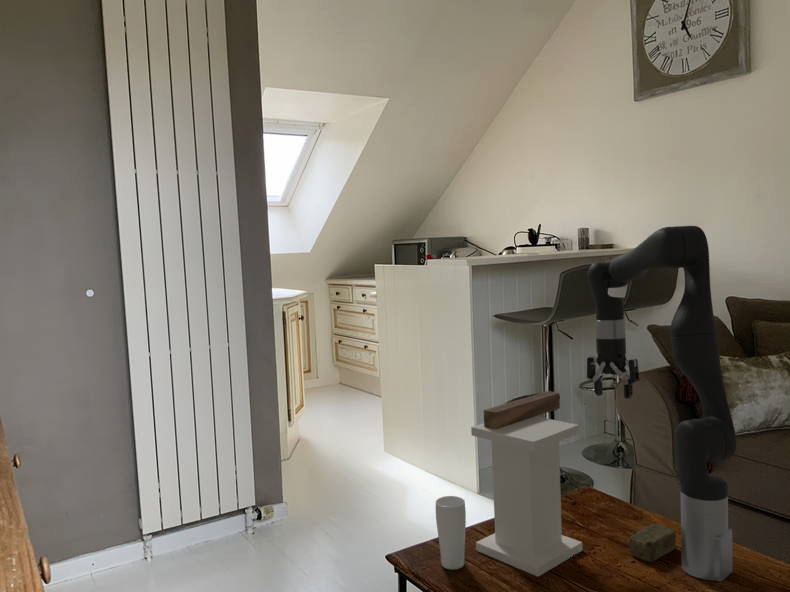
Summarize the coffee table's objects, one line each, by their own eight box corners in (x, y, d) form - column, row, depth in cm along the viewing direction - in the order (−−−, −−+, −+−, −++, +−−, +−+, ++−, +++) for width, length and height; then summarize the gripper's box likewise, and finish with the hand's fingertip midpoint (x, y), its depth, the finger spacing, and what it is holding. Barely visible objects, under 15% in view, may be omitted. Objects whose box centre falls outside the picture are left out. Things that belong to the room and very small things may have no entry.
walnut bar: (559, 408, 167) (559, 392, 167) (495, 429, 151) (495, 412, 151) (548, 406, 170) (548, 390, 170) (484, 426, 154) (483, 410, 153)
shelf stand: (582, 550, 154) (578, 425, 151) (537, 576, 143) (533, 441, 140) (521, 527, 167) (517, 412, 165) (476, 550, 156) (471, 427, 154)
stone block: (627, 556, 150) (627, 535, 150) (655, 541, 157) (654, 520, 157) (651, 565, 146) (650, 543, 145) (678, 549, 153) (678, 528, 152)
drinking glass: (472, 561, 151) (469, 498, 150) (460, 575, 145) (457, 509, 144) (446, 555, 154) (443, 493, 153) (432, 568, 148) (430, 504, 147)
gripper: (642, 336, 172) (645, 397, 173) (595, 334, 183) (597, 392, 184) (627, 338, 168) (630, 401, 168) (579, 336, 179) (582, 396, 179)
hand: (613, 396), depth 176 cm, fingers open, 8 cm apart
